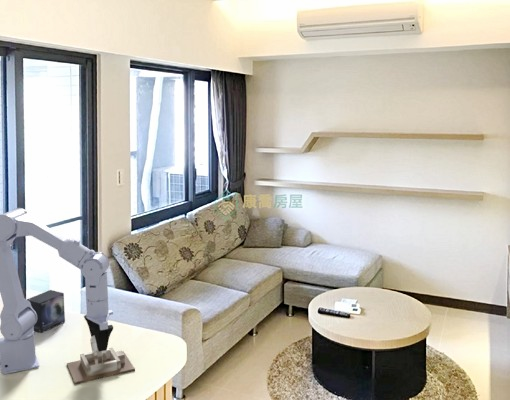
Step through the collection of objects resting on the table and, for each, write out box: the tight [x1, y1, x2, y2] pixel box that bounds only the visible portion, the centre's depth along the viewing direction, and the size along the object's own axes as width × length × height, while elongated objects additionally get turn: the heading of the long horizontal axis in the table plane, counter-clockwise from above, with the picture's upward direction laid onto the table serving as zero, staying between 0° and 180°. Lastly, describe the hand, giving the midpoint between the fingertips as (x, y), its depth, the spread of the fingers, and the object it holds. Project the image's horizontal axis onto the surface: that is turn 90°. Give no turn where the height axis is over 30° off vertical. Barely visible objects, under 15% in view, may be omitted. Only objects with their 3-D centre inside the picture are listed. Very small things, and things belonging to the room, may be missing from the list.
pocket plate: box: [66, 347, 136, 385], centre depth 152 cm, size 16×12×3 cm
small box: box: [26, 289, 66, 334], centre depth 179 cm, size 11×6×10 cm, turn 155°
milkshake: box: [90, 336, 107, 365], centre depth 151 cm, size 4×5×10 cm
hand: (99, 344), depth 151 cm, fingers open, 7 cm apart
